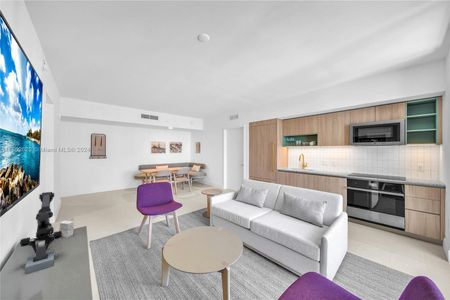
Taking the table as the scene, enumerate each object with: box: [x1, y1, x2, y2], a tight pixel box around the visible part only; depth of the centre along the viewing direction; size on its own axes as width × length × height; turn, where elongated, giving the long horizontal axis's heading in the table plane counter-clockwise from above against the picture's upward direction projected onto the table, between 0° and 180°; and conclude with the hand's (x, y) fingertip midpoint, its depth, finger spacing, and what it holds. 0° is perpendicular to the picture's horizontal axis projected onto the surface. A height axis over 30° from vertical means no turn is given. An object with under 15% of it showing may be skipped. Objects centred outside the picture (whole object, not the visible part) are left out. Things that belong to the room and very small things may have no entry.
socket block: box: [24, 249, 55, 275], centre depth 111 cm, size 14×12×4 cm
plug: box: [35, 240, 47, 262], centre depth 111 cm, size 4×4×12 cm
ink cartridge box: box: [58, 216, 75, 238], centre depth 148 cm, size 9×5×15 cm, turn 84°
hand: (41, 251), depth 110 cm, fingers closed on plug, 4 cm apart
